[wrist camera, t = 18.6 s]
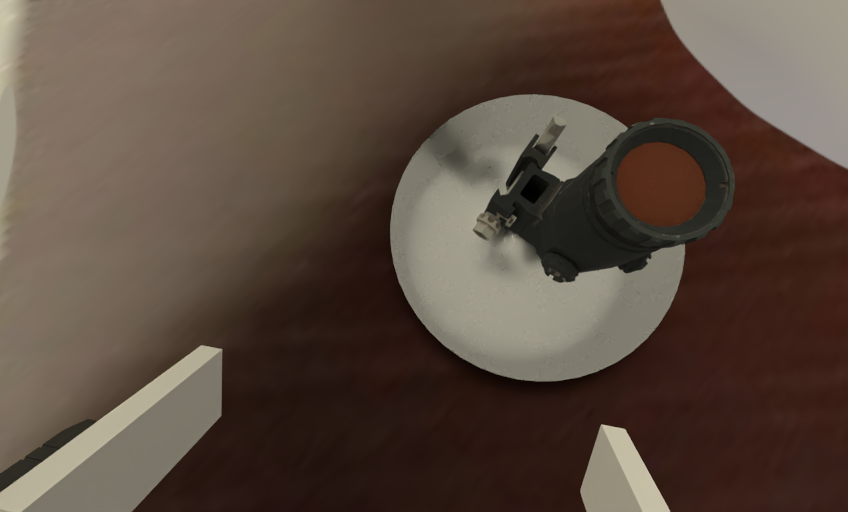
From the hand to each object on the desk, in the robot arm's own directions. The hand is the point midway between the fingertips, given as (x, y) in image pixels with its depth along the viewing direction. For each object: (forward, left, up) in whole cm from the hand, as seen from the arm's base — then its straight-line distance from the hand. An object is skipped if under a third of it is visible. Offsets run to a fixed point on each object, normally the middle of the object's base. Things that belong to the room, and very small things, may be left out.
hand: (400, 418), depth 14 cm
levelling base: (-10, +9, -19) cm, 23 cm away
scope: (-10, +10, -15) cm, 21 cm away
